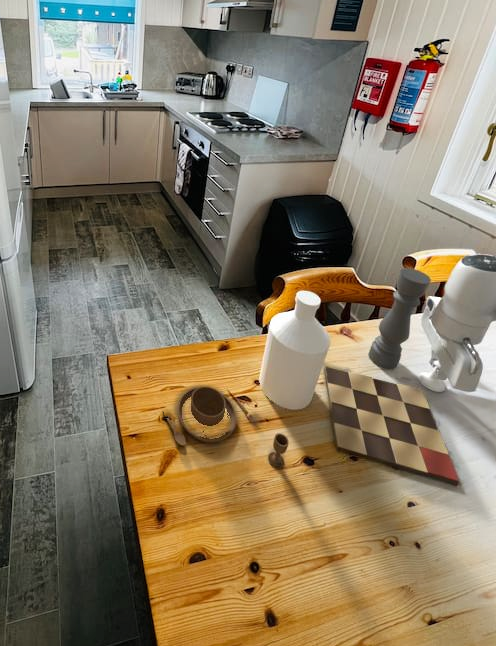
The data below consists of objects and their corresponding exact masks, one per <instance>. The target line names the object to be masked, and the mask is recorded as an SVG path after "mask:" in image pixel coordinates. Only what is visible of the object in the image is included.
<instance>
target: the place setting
mask: <svg viewBox="0 0 496 646" xmlns="http://www.w3.org/2000/svg"><path fill="white" fill-rule="evenodd" d="M190 397H191V412H192V415H193V416H194V418H195V419H196V420H197V421H198V422H199V423H201V424H203V425H207V426H213V425H216V424H218V423H219V422H220V421H221V420H222V419H223V417H224V413H225V408H226V409H227V412H228V413H229V415H228V413H227V415H228V416H230V419H231V421H230V422H231V423H230V424H231V425H230V428H229V431H228V432H226V433H225V435H223V434H222V435H223V436H221V437H219V438H214V439H209V438H207V437H206V438H204V437H201V436H198V435H196V434H195V433H193V432H192V431H190V430H189V429H188V428H187V427H186V425H185V424H184V422H183V419H182V407H183V404H184V403H185V401H186V400H187V399H188V398H190ZM237 400H238V401H236V403H237V404H238V403H239V404H238V406H240V407H241V409H242V410H243V411H244V413H245V414H246V413H247V414H248V413H249V411H248V410H247V409H246V408H245V406H244V405H243V404H242V403H241V401H240V400H239V399H238V398H237ZM177 416H178V419H179V422H180V424H181V426H182V428H183V429H184V431H186V433H188V434H189V435H190V436H191V437H193V438H194V439H197V440H199V441H201V442H204V443H210V444H211V443H219V442H222V441H224V440H226V439H228V438H229V437H230V436H231V435H232V434H233V433H234V430H235V428H236V425H237V419H238V417H237V412H236V409H235V406H234V405H233V403H232V401H231V400H230V399H229V398H228V397H227V395H225V394H224V393H222V392H221V391H219V390H217V389H216V388H214V387H211V386H195V387H192V388H190V389H188V390H186V391H185V392H184V393H183V394H182V395H181V396H180V398H179V400H178V404H177ZM228 416H227V417H228ZM228 418H229V417H228ZM166 419H167V420H166ZM249 419H250V420H249V422H251V423H252V424H253V425H254V426H256V425H257V424H258V423H260V421H259V420H258V419H256V417H255V416H253V415H252V416H251V417H250V418H249ZM165 420H166V421H167V423H168V424H169V425H170V427H171V429H172V431H173V436H174V440H175V442H176V443H177V444H178V445H179V446H181V447H185V446H186V445H187V441H186V440H187V439H186V437H185V436H184V435H183V434H182V433H181V432H180V431H178V430H177V429H176V427H175V426H174V424H173V422H172V420H171V419H170V417H169V416H168V418H165ZM203 432H204V431H203ZM205 436H206V435H205ZM289 443H290V442H289V439H288V437H287V436H286V435H285V434H283V433H276V434H275V435H274V437H273V443H272V447H273V449H274V451H272V452H270V453H268V457H267V460H268V462H269V464H270V463H271V464H272V465H273V466H272V465H271V464H270V465H271V466H272V467H274V466H275V467H274V468H276V469H281V468H283V466H284V465H285V460H284V457H283V456H282V455H283V454H285V453H286V452H287V450H288V446H289ZM277 467H278V468H277ZM280 467H281V468H280Z"/></svg>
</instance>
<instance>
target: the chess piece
mask: <svg viewBox="0 0 496 646" xmlns="http://www.w3.org/2000/svg"><path fill="white" fill-rule="evenodd" d="M434 364H435V366H436V367H433V370H432V371H431V372H429V373H428V372H427V371H423V372H420V374H419V375H418V380H419V382H420V383H421V384H422V385H423V386H424V387H425V388H427V389H428V390H430V391H432V392H437V393H441V392H443V391H444V392H445V389H446V384H445V382H444V380H440V379H437V377H436V375H435V371H436V368H439V369H441V364H440V362H439V360H438V361H434Z"/></svg>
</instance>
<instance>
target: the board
mask: <svg viewBox="0 0 496 646" xmlns="http://www.w3.org/2000/svg"><path fill="white" fill-rule="evenodd" d="M323 372H324V380H325V385H326V390H327V391H326V392H327V399H328V405H329V411H330V418H331V424H332V430H333V437H334V444H335V451H336V452H339V453H342V454H346V455H350V456H353V457H357V458H361V459H363V460H367V461H370V462H374V463H377V464H380V465H384V466H386V467H387V466H388V467H391V468H394V469H397V470H400V471H403V472H408V473H411V474H414V475H417V476H420V477H425V478H428V479H432V480H434V481H437V482H441V483H444V484H448V485H451V486H455V487H458V486H459V485H460V480H459V479H460V478H459V477H458V475H457V472H456V469H455V467H454V465H453V463H452V462H453V461H452V459H451V458H450V454H449V451H448V448H447V447H446V446H447V445H446V444H445V442H444V439H443V436H442V434H441V432H440V430H439V428H438V425H437V424H436V421H435V419H434V416H433V414H432V412H431V408H430V405H429V403H428V400H427V398H426V395H425V393H424V390H423V388H422V389H421V388H418V387H414V386H409V385H405V384H401V383H394V382H390V381H386V380H382V379H377V378H374V377H372V376H369V375H364V374H360V373H357V372H352V371H345V370H341V369H337V368H333V367H330V366H324V369H323Z"/></svg>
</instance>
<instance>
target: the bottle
mask: <svg viewBox="0 0 496 646" xmlns="http://www.w3.org/2000/svg"><path fill="white" fill-rule="evenodd" d="M294 301H295V306H294V309H293V310H290V311H283V312H279V313H277V314H275V315H274V316H272V318H271V320H270V322H269V327H268V330H267V337H266V342H265V346H264V352H263V356H262V362H261V368H260V371H259V378H258V384H259V383H260V384H259V387H260V389H262V390H261V391H262V393H263V392H264V393H265V394H266V395H265V394H264V393H263V394H264V395H265V397H266V396H267V397H268V398H269V399H268V398H267V397H266V398H267V399H268V400H270V399H271V400H272V401H273V402H274V404H275V403H276V404H275V405H277V406H278V405H279V406H278V407H281V408H283V409H286V408H287V410H292V411H294V410H295V411H296V410H297V411H299V410H302V409H305V408H306V406H307V407H308V406H309V405H310V404H311V402H312V399H313V397H314V393H315V390H316V388H317V386H318V382H319V379H320V376H321V373H322V370H323V367H324V363H325V361H326V358H327V355H328V352H329V350H330V347H331V337H330V334H329V332H328V330H327V329H326V328H325V327H324V326H323V325H322V324H321V323H320V321H319V320H318V319H317V318H316V313H317V310H319V308H320V306H321V302H322V300H321V298H320V297H319V295H318V294H316V293H315V292H313V291H311V290H310V291H309V290H299V291H297V292H296V295H295V299H294ZM271 400H270V401H271ZM272 401H271V402H272ZM273 402H272V403H273Z"/></svg>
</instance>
